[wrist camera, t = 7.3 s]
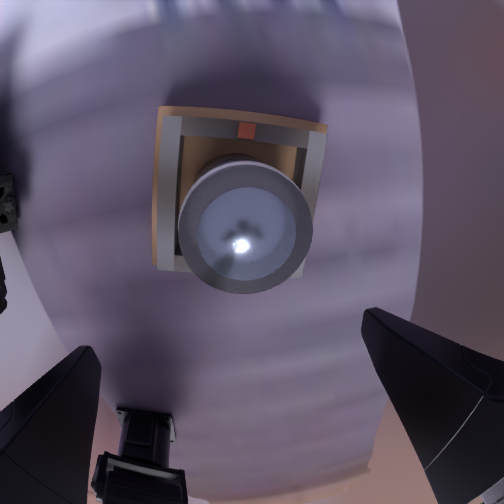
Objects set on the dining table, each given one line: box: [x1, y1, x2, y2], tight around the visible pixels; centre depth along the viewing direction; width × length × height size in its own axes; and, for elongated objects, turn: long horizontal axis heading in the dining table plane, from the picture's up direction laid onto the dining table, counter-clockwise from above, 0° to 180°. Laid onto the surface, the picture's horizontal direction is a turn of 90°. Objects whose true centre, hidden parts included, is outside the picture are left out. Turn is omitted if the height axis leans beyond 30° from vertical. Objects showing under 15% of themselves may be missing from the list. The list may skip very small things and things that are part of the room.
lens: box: [178, 153, 313, 294], centre depth 14 cm, size 5×5×7 cm
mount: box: [152, 106, 327, 278], centre depth 17 cm, size 10×10×4 cm
